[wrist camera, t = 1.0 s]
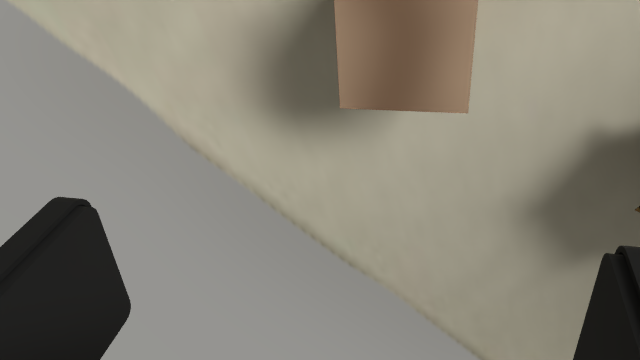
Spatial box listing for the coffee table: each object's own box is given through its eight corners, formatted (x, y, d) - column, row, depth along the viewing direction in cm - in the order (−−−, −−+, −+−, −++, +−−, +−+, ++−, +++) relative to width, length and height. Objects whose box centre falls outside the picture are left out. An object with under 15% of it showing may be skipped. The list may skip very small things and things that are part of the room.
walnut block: (478, -67, 24) (479, -23, 18) (469, 41, 27) (467, 113, 21) (368, -64, 26) (332, -21, 19) (370, 40, 28) (339, 108, 22)
